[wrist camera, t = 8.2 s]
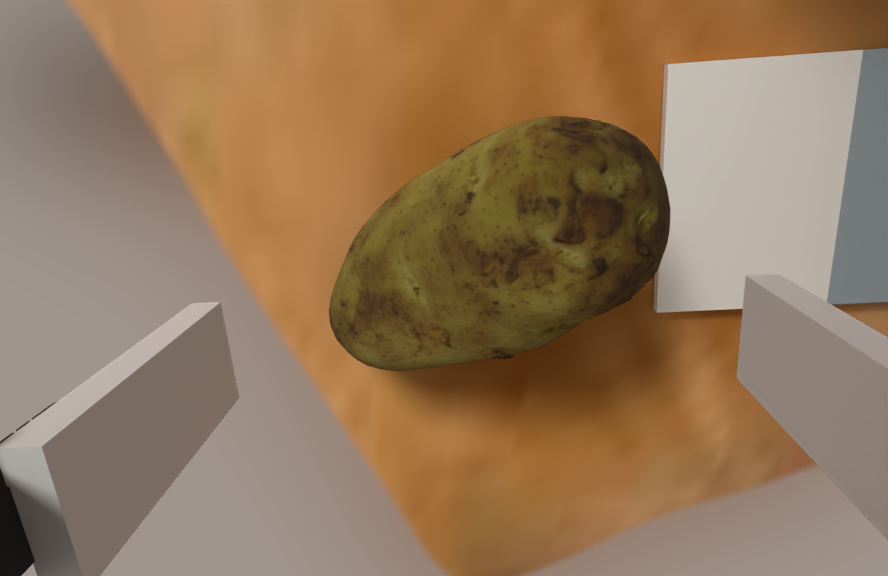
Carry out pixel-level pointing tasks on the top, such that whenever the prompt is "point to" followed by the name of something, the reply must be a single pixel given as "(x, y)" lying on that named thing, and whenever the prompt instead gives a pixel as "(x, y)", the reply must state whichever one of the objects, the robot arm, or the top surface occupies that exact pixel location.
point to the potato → (503, 246)
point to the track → (775, 178)
